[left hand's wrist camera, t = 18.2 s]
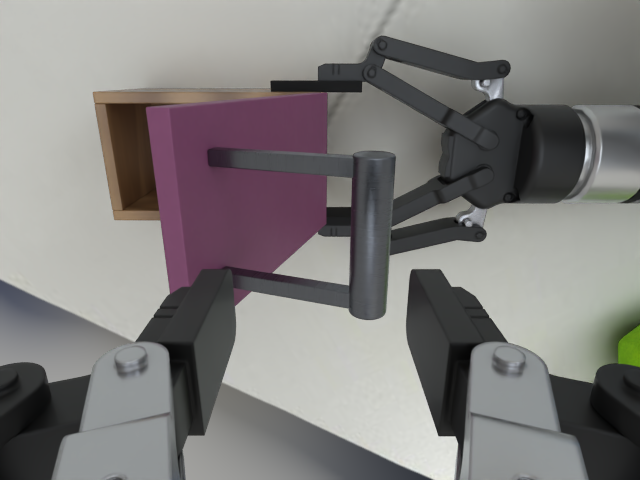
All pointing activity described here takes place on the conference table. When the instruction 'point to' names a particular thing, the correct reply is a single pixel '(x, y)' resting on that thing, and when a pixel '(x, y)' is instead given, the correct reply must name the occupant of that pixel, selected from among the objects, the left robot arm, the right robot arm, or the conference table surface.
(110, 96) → the chest
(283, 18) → the conference table surface
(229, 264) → the lid
